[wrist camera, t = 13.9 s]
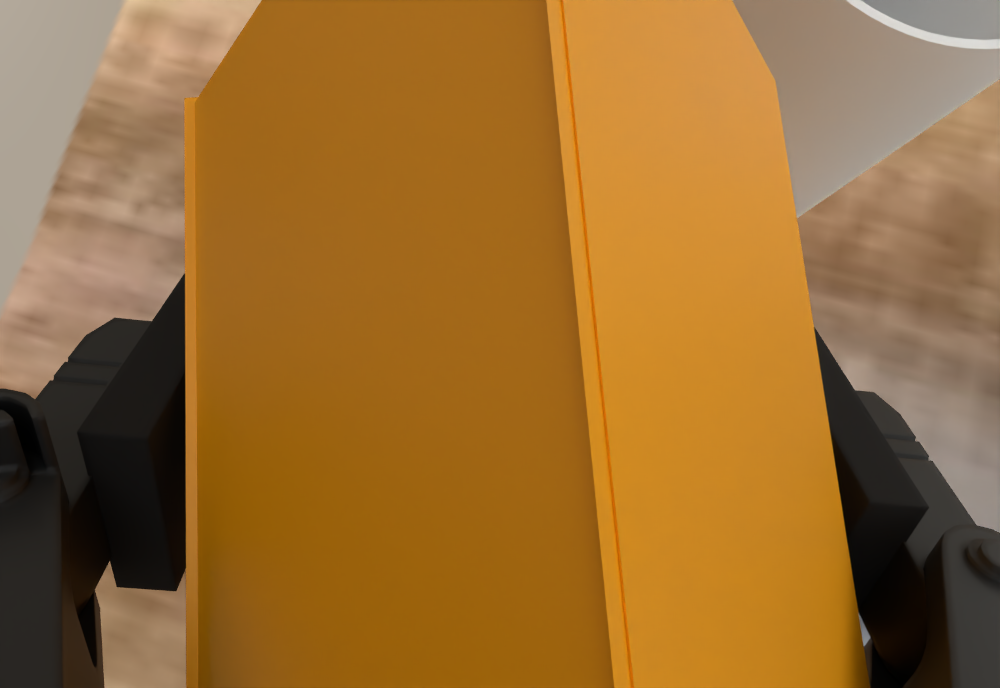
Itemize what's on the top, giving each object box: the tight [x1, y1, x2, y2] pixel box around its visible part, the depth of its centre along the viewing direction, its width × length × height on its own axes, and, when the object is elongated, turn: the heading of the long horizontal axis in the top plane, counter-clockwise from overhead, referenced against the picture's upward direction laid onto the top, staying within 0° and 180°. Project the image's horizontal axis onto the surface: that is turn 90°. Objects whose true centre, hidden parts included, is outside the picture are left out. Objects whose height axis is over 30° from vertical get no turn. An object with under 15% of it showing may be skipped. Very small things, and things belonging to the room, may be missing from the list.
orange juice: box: [185, 0, 870, 688], centre depth 13 cm, size 8×9×20 cm
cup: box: [732, 0, 1000, 218], centre depth 23 cm, size 8×8×16 cm
